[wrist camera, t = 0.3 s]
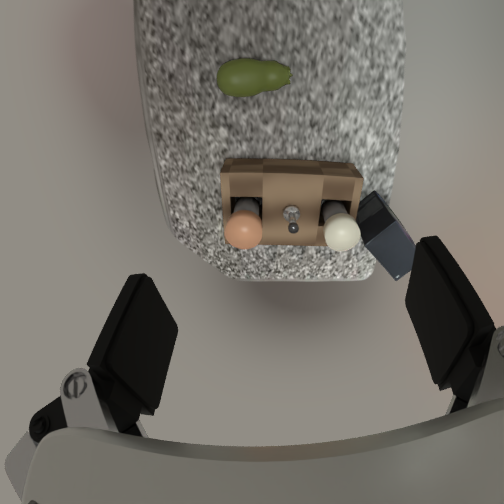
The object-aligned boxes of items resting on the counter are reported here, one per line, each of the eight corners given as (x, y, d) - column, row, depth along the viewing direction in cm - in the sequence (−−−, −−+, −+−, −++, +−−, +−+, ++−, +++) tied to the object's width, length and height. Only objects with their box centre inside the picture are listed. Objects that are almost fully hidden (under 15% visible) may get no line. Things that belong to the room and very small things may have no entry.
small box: (404, 225, 48) (426, 261, 40) (378, 245, 51) (395, 283, 43) (375, 188, 44) (398, 220, 36) (347, 211, 47) (363, 247, 39)
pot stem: (283, 204, 40) (285, 221, 37) (300, 204, 40) (303, 221, 37) (282, 218, 42) (284, 236, 38) (298, 219, 42) (301, 236, 38)
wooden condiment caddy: (225, 158, 43) (220, 172, 38) (352, 163, 42) (363, 178, 37) (229, 223, 50) (225, 243, 45) (342, 226, 49) (349, 246, 44)
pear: (214, 60, 29) (294, 55, 29) (214, 62, 33) (284, 57, 33) (219, 101, 32) (296, 95, 33) (218, 97, 36) (287, 92, 37)
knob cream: (319, 193, 41) (328, 220, 35) (350, 195, 40) (363, 222, 34) (315, 221, 43) (323, 250, 38) (345, 222, 43) (356, 251, 37)
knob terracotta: (230, 191, 41) (223, 217, 35) (263, 191, 41) (262, 218, 35) (231, 219, 44) (226, 248, 38) (263, 219, 44) (262, 249, 38)
